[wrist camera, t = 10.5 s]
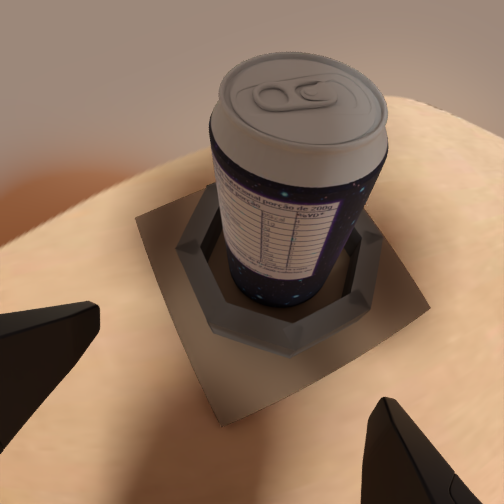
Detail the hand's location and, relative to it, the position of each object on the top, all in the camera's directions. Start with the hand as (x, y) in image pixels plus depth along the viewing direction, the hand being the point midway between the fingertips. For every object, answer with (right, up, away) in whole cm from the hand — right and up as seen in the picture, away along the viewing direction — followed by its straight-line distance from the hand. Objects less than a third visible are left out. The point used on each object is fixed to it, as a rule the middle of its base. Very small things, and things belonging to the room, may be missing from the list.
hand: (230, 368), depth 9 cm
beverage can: (+2, +2, +10) cm, 11 cm away
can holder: (+2, +2, +11) cm, 12 cm away
